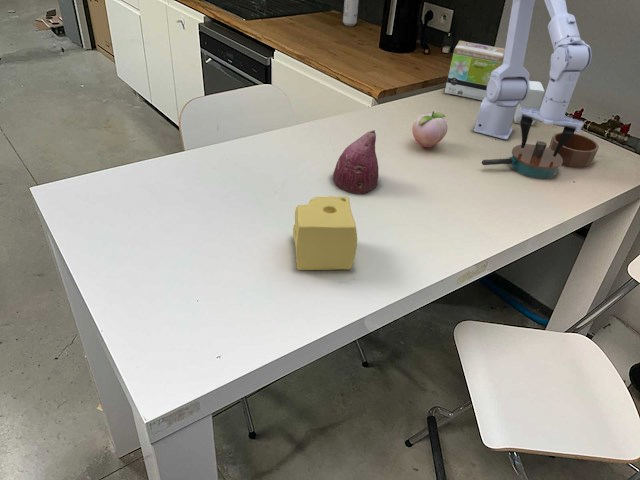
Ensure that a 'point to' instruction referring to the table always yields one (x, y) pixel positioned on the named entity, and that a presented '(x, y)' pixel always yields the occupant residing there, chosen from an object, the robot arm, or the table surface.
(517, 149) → the lid
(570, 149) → the casserole
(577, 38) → the robot arm
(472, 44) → the tea box
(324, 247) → the cheese
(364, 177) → the vegetable
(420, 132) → the decorative fruit
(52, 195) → the table surface
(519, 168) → the pan
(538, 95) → the small box
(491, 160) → the pan handle
